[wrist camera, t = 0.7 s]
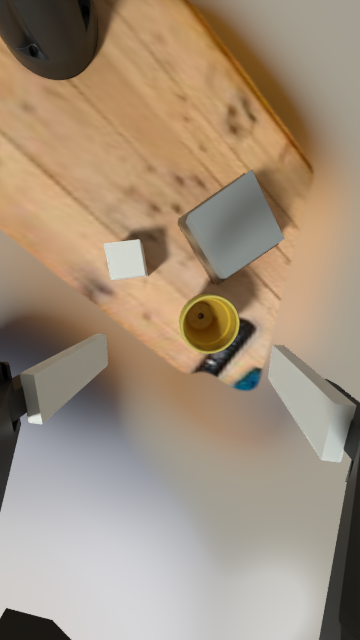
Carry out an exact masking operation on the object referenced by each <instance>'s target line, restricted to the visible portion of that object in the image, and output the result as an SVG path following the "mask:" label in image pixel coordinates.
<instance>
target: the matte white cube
mask: <svg viewBox="0 0 360 640" xmlns="http://www.w3.org/2000/svg"><path fill="white" fill-rule="evenodd" d="M104 248H105V253H106V258H107V263H108V268H109V272H110V277H111V280H123V279H131V278H138V277H146V276H148V272H147V266H146V260H145V254H144V248H143V245H142V243H141V241H140V240H139V239H138V240H129V241H121V242H113V243H104Z"/></svg>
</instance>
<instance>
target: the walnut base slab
mask: <svg viewBox="0 0 360 640" xmlns="http://www.w3.org/2000/svg"><path fill="white" fill-rule="evenodd" d="M244 175H245V173H244V174H242V175H241V176H240V177H238V178H237V179H235V180H234V181H232V182H231V183H229V184H228V185H227V186H225V187H224V188H222V189H221V190H219V191H218V192H217V193H215V194H214V195H212V196H211V197H209V198H208V199H206V200H205V201H204V202H202V203H201V204H199V205H198V206H196V207H195V208H194V209H192V210H191V211H189V212H188V213H186V214H185V215H183V216H182V217H181V218H179V220H178V226H179V228H180V229H181V231H182V233H183V234H184V236H185V238H186V239H187V241H188V243H189V244H190V246H191V248H192V249H193V251H194V253H195V254H196V256H197V258H198V259H199V261H200V263H201V264H202V266H203V268H204V269H205V271H206V273H207V275H208V276H209V278H210V280H211V281H212V283H213V284H216V285H218V284H220V283H221V282H223V281H224V280H226V279H227V278H229V277H230V276H232V275H233V274H235V273H236V272H238V271H239V270H241V269H242V268H244V267H245V266H247V265H248V264H250V263H251V262H253V261H254V260H256V259H257V258H259V257H260V256H262V255H263V254H265V253H266V252H268V251H269V250H271V249H272V248H274V247H275V246H277V245H278V244H279V243H278V244H276V245H275V246H273V247H272V248H270V249H269V250H267V251H266V252H264V253H263V254H261V255H260V256H258V257H257V258H255V259H254V260H252V261H251V262H250V263H248V264H247V265H245V266H244V267H242V268H241V269H239V270H238V271H236V272H235V273H233V274H232V275H230V276H229V277H227V278H226V279H219V278H218V276H217V274H216V273H215V271H214V269H213V268H212V266H211V264H210V263H209V261H208V259H207V258H206V256H205V254H204V253H203V251H202V249H201V247H200V246H199V244H198V242H197V241H196V239H195V237H194V236H193V234H192V232H191V231H190V229H189V227H188V226H187V224H186V220H187V217H188V215H189V214H190V213H191V212H193V211H194V210H196V209H197V208H198V207H200V206H201V205H203V204H204V203H206V202H207V201H208V200H210V199H211V198H213V197H214V196H216V195H217V194H218V193H220V192H221V191H223V190H224V189H225V188H227V187H228V186H230V185H231V184H233V183H234V182H235V181H237V180H238V179H240V178H241V177H242V176H244Z"/></svg>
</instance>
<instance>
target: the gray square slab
mask: <svg viewBox="0 0 360 640" xmlns="http://www.w3.org/2000/svg"><path fill="white" fill-rule="evenodd" d="M186 224H187V226H188V227H189V229H190V231H191V232H192V234H193V236H194V237H195V239H196V241H197V242H198V244H199V246H200V247H201V249H202V251H203V253H204V254H205V256H206V258H207V259H208V261H209V263H210V264H211V266H212V268H213V269H214V271H215V273H216V274H217V276H218V278H219V279H226V278H227V277H229V276H230V275H232V274H233V273H235V272H236V271H238V270H239V269H241V268H242V267H244V266H245V265H247V264H248V263H250V262H251V261H252V260H254V259H255V258H257V257H258V256H260V255H261V254H263V253H264V252H266V251H267V250H269V249H270V248H272V247H273V246H275V245H276V244H278V243H279V242H281V241H282V240H283V239H284V236H283V234H282V232H281V230H280V228H279V226H278V224H277V222H276V219H275V217H274V215H273V213H272V211H271V209H270V207H269V205H268V203H267V200H266V198H265V196H264V194H263V192H262V190H261V188H260V186H259V183H258V181H257V179H256V177H255V175H254V173H253V171H252V170H251V171H250V172H248V173H247V174H245V175H244V176H242V177H241V178H240V179H238V180H237V181H235V182H234V183H233V184H231V185H230V186H228V187H227V188H225V189H224V190H223V191H221V192H220V193H218V194H217V195H216V196H214V197H213V198H211V199H210V200H208V201H207V202H206V203H204V204H203V205H201V206H200V207H198V208H197V209H196V210H194V211H193V212H191V213H190V214H189V215H188V217H187V220H186Z"/></svg>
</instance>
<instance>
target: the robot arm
mask: <svg viewBox="0 0 360 640" xmlns="http://www.w3.org/2000/svg"><path fill="white" fill-rule="evenodd" d="M0 36H1V38H2V39H3V41H4V42H5V44H6V45H7V47H8V48H9V50H10V51H11V53H12V54H13V55H14V56H15V57H16V59H17V60H18V61H19V62H20V63H21V64H22V65H24V66H25V67H26V68H27V69H29V70H30V71H32V72H33V73H35V74H37V75H39V76H42V77H45V78H48V79H54V80H62V79H67V78H71V77H73V76H75V75H77V74H78V73H80V72H81V71H82V70H83V69H84V68H85V67H86V66H87V65H88V63H89V62H90V60H91V58H92V56H93V54H94V52H95V48H96V44H97V39H98V20H97V14H96V9H95V5H94V1H93V0H0ZM107 359H108V357H107V345H106V334H98V333H97V334H95V335H93V336H91V337H89V338H87V339H86V340H84V341H82V342H80V343H78V344H76V345H74V346H72V347H70V348H68V349H66V350H64V351H62V352H61V353H59V354H57V355H55V356H53V357H51V358H49V359H47V360H45V361H43V362H41V363H39V364H37V365H35V366H34V367H31V368H30V369H28V370H26V371H24V372H22V373H20V374H19V375H17V376H15V377H13V378H12V376H11V371H10V366H9V363H8V362H0V510H1V506H2V502H3V498H4V494H5V489H6V485H7V481H8V477H9V472H10V468H11V464H12V460H13V455H14V452H15V447H16V443H17V439H18V434H19V431H20V426H21V422H20V417H21V416H23V415H24V414H25V413H27V416H28V421H29V423H37V424H43V423H44V422H45V421H46V420H48V419H49V418H50V417H51V416H52V415H53V414H54V413H55V412H56V411H57V410H58V409H60V408H61V407H62V406H63V405H64V404H65V403H66V402H67V401H69V400H70V399H71V398H72V397H73V396H74V395H75V394H76V393H77V392H78V391H79V390H80V389H82V388H83V387H84V386H85V385H86V384H87V383H88V382H90V381H91V380H92V379H93V378H94V377H95V376H96V375H97V374H98V373H99V372H100V371H102V370H103V369H104V368H105V367H106V366H107V365H108V360H107ZM268 379H269V381H270V382H271V384H272V385H273V387H274V388H275V390H276V391H277V393H278V394H279V396H280V398H281V399H282V401H283V402H284V404H285V405H286V407H287V408H288V410H289V411H290V413H291V414H292V416H293V417H294V419H295V420H296V422H297V424H298V425H299V427H300V428H301V430H302V431H303V433H304V434H305V436H306V437H307V439H308V441H309V442H310V444H311V445H312V446H313V448H314V450H315V451H316V453H317V454H318V456H319V457H320V459H321V460H326V461H333V462H341V460H342V456H343V453H344V451H345V452H346V453H347V454H348V455H349V457H350V458H351V459H352V461H351V464H350V467H349V471H348V475H347V478H346V482H347V485H346V490H345V496H344V502H343V507H342V513H341V519H340V524H339V530H338V536H337V542H336V547H335V553H334V558H333V564H332V570H331V576H330V581H329V587H328V592H327V598H326V604H325V610H324V615H323V621H322V626H321V632H320V638H319V640H360V402H358V401H357V400H356V399H355V398H353V397H351V395H350V394H348V393H347V392H345V390H343V389H342V388H341V387H340V386H338V385H337V384H335V383H333V382H331V381H329V380H327V379H324V378H322V377H321V376H320V375H319V374H318V373H316V372H315V371H314V370H313V369H312V368H310V367H309V366H308V365H307V364H306V363H304V362H303V361H302V360H301V359H300V358H298V357H297V356H296V355H295V354H293V353H292V352H291V351H290V350H289V349H287V348H286V347H285V346H284V345H273V347H272V354H271V360H270V367H269V374H268ZM0 640H71V639H70V638H69V637H68V636H67V635H66V634H65V633H64V632H63V631H62V630H61V629H60V628H59V627H58V626H57V625H56V624H55V623H54V622H53V620H50V619H46V618H42V617H38V616H34V615H31V614H27V613H23V612H19V611H15V610H11V609H8V608H6V609H5V611H4V613H3V615H2V616H1V618H0Z"/></svg>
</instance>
